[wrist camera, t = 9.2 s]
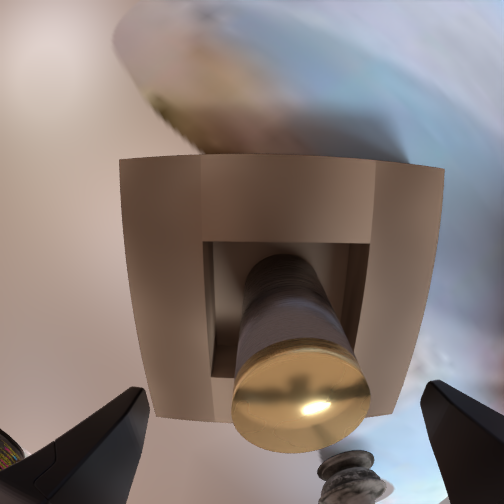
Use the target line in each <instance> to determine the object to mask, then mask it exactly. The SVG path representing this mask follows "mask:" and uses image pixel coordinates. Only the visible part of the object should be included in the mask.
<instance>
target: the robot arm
mask: <svg viewBox="0 0 504 504" xmlns="http://www.w3.org/2000/svg"><path fill="white" fill-rule="evenodd" d="M420 406H421V410H422V413H423V417H424V421H425V425H426V429H427V433H428V437H429V440H430V443H431V446H432V449H433V452H434V455H435V458H436V460H437V463H438V466H439V469H440V472H441V475H442V478H443V481H444V484H445V487H446V490H447V494H448V497H449V500H450V503H451V504H504V416H503V415H502V414H500V413H498V412H496V411H494V410H493V409H491V408H489V407H487V406H485V405H484V404H482V403H480V402H478V401H476V400H475V399H473V398H471V397H469V396H467V395H466V394H464V393H462V392H460V391H459V390H457V389H455V388H453V387H452V386H450V385H448V384H446V383H445V382H443V381H441V380H433V381H429V382H428V383H427V385H426V387H425V390H424V392H423V395H422V397H421V401H420ZM149 413H150V407H149V403H148V399H147V395H146V392H145V390H144V389H143V388H140V387H130V388H129V389H127V390H126V391H125V392H123V393H122V394H120V395H119V396H117V397H116V398H115V399H113V400H112V401H110V402H109V403H108V404H106V405H105V406H103V407H102V408H101V409H99V410H98V411H96V412H95V413H93V414H92V415H91V416H89V417H88V418H86V419H85V420H83V421H82V422H80V423H79V424H78V425H76V426H75V427H73V428H72V429H70V430H69V431H67V432H66V433H64V434H63V435H62V436H60V437H59V438H57V439H56V440H55V441H53V442H51V443H50V444H48V445H47V446H45V447H43V448H42V449H41V450H39V451H37V452H35V453H34V454H32V455H30V456H28V457H26V458H25V459H23V460H21V461H19V462H17V463H15V464H13V465H11V466H9V467H6V468H4V469H2V470H0V504H126V501H127V498H128V495H129V491H130V488H131V485H132V482H133V479H134V475H135V473H136V469H137V466H138V463H139V460H140V457H141V453H142V449H143V444H144V438H145V433H146V428H147V423H148V418H149Z"/></svg>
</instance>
